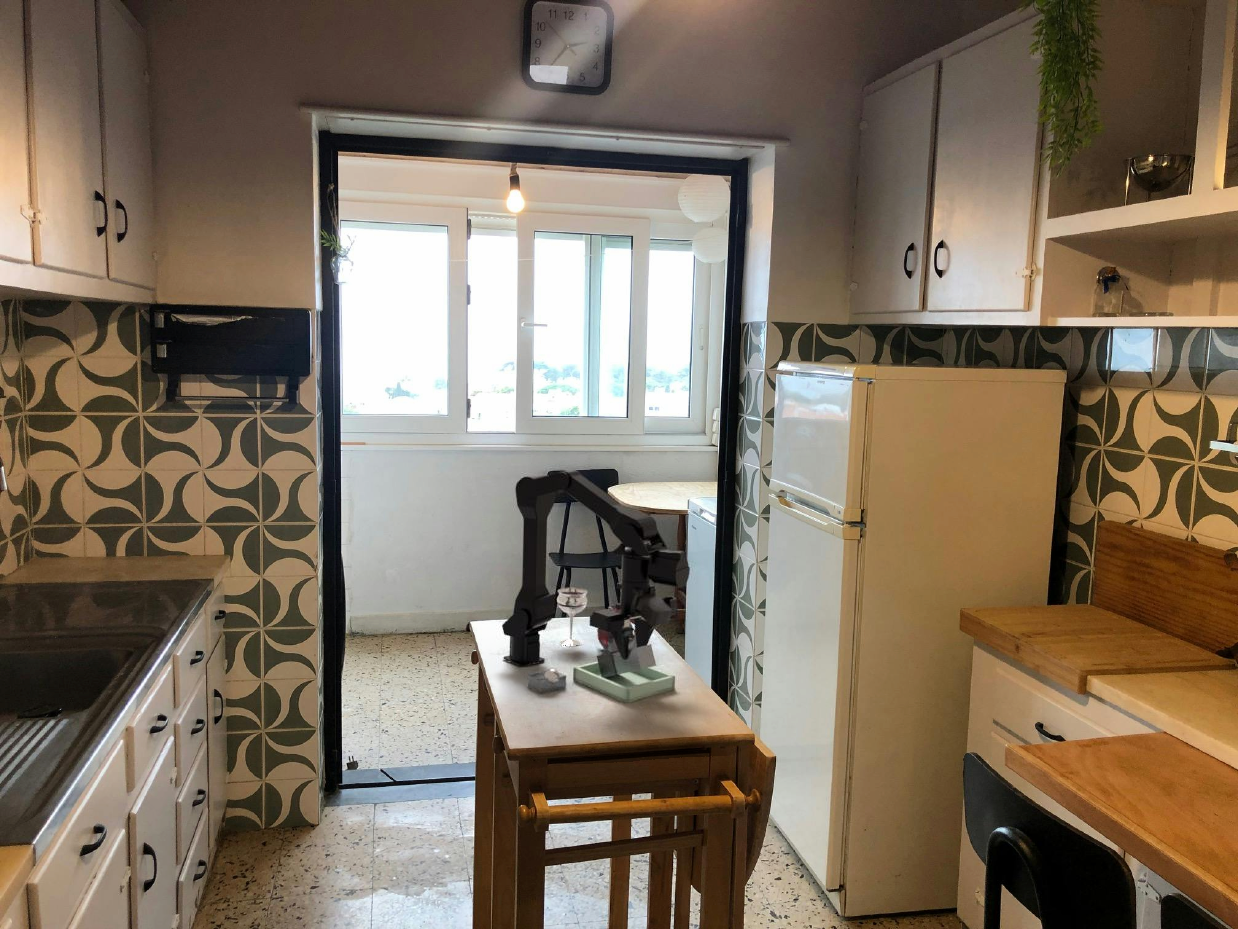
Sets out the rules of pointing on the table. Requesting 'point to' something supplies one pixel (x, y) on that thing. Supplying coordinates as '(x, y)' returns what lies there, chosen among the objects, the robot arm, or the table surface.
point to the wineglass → (571, 607)
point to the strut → (626, 661)
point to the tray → (625, 682)
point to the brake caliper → (608, 640)
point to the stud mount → (546, 681)
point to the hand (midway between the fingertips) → (632, 657)
